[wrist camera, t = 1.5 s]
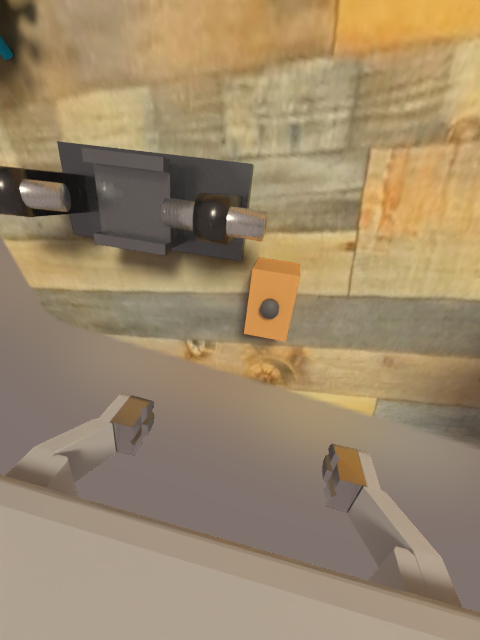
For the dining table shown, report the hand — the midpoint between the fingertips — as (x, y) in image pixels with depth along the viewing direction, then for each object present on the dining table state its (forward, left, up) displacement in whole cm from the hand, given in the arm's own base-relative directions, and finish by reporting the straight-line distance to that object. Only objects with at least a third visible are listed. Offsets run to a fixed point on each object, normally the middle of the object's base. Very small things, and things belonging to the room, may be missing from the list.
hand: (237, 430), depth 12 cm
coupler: (0, 0, -20) cm, 20 cm away
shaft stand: (+14, -7, -20) cm, 25 cm away
